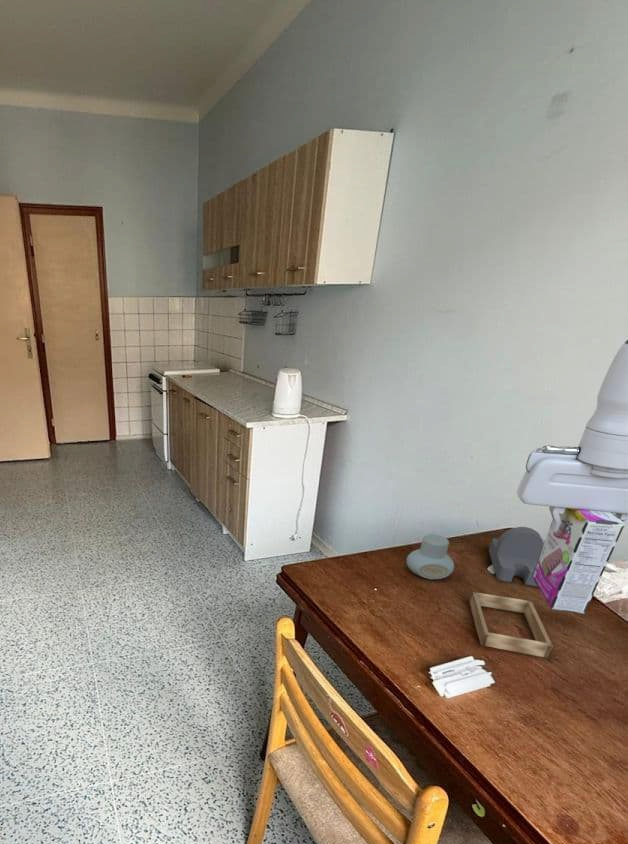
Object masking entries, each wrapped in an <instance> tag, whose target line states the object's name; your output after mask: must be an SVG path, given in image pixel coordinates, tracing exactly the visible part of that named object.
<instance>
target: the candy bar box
mask: <svg viewBox="0 0 628 844" xmlns="http://www.w3.org/2000/svg"><path fill="white" fill-rule="evenodd" d="M559 516H560V519H561V520H564V521H565V522H566V523H567V524H568V525H567V528H566V529H565V532H564V533H554V532H552V531H551V525H552V522H553V519H552V521H551V523H550V526H549V529H548V532H547V535H546V538H545V540H544V541H543V542H544V545H543V548H542V551H541V553H540V556H539V559H538V561H537V564H536V567H535V569H534V572H533V575H532V578H533V579H534V581H535V582H536V584H537V586H536V587H537V588H538V589H539V591H540V593H541V594H542V596H543V598H544V599H545V601H546V603H547V604H548V606H549V608H550V609H551V610H553V611H558V612H566V613H574V614H582V615H584V614H585V613H586V611H587V609H588V607H589V605H590V603H591V600H592V598H593V596H594V594H595V591H596V590H597V587H598V585H599V583H600V581H601V578H602V577H603V574H604V572H605V570H606V567H607V565H608V563H609V561H610V559H611V556H612V555H613V553H614V550H615V548H616V545H617V543H618V541H619V538H620V536H621V534H622V532H623V530H624V528H625V526H626V525H625V523H624V522H623V521H621V520H620V519H619V518H618V517H617V516H616V515H615V513H611V512H602V511H591V510H581V509H571V508H565V511H564V513H563V514H560V513H559Z"/></svg>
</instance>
